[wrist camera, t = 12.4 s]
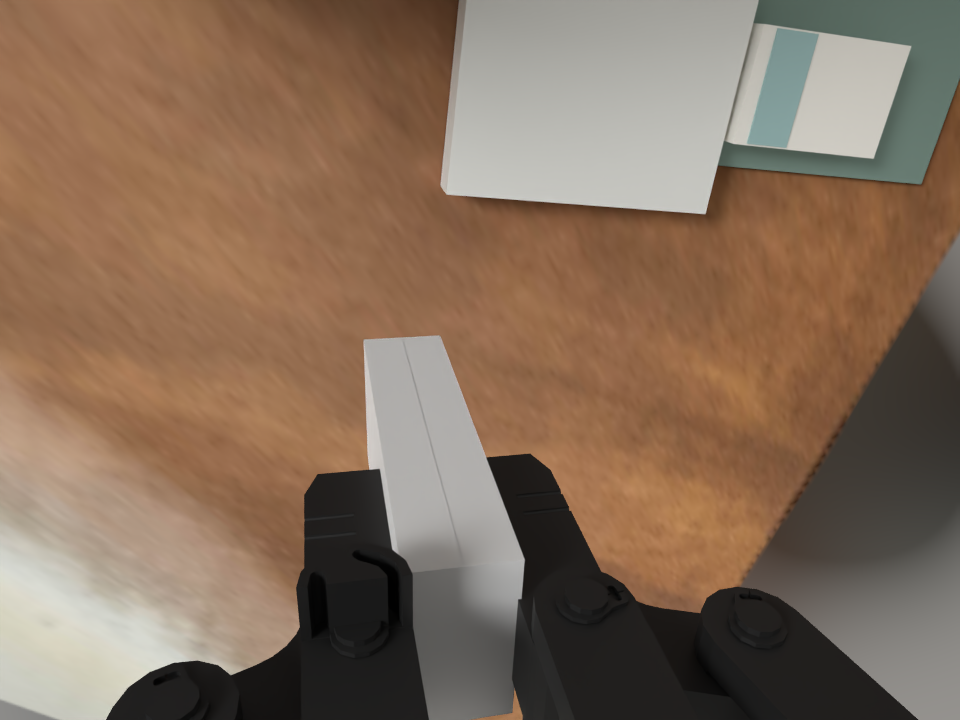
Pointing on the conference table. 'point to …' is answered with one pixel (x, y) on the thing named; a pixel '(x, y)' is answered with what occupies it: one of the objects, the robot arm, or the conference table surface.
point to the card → (814, 91)
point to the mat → (919, 97)
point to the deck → (593, 100)
